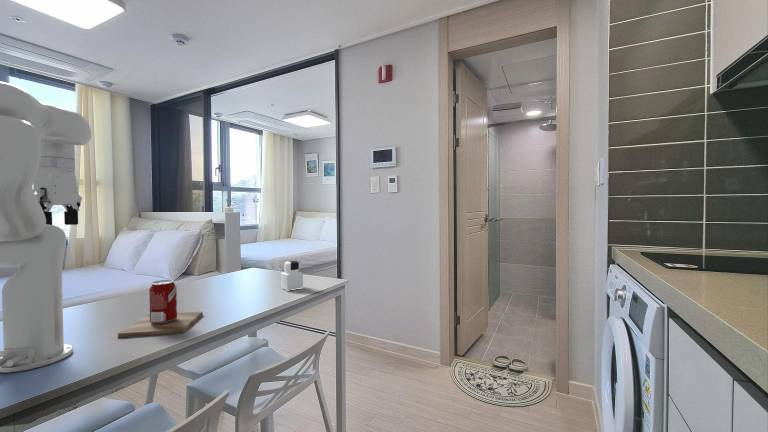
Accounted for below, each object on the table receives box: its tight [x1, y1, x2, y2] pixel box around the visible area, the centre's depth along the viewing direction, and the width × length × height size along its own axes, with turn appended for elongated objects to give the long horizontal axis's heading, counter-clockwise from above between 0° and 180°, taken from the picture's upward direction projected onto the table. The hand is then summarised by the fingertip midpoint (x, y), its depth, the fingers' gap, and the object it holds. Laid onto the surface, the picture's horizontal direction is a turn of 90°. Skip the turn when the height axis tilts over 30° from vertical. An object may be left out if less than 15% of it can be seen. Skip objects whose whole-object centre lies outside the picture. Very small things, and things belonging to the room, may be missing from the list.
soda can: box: [148, 279, 178, 324], centre depth 98 cm, size 7×7×12 cm
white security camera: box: [280, 260, 304, 290], centre depth 142 cm, size 7×7×12 cm
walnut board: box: [117, 311, 203, 339], centre depth 98 cm, size 16×16×1 cm
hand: (58, 225), depth 93 cm, fingers open, 9 cm apart
